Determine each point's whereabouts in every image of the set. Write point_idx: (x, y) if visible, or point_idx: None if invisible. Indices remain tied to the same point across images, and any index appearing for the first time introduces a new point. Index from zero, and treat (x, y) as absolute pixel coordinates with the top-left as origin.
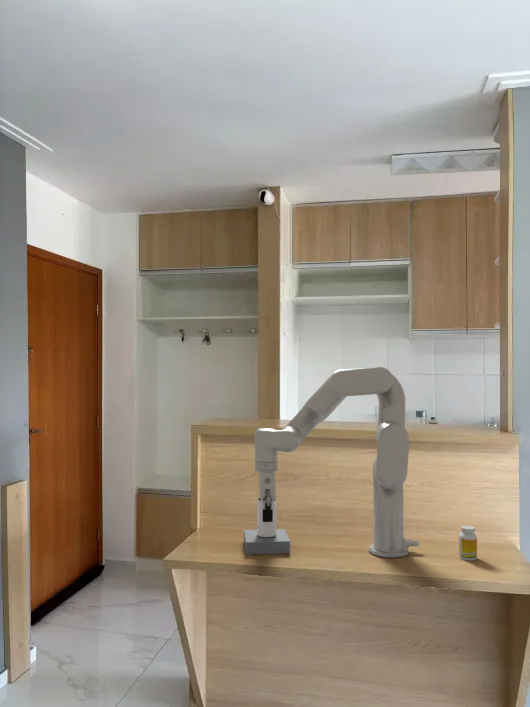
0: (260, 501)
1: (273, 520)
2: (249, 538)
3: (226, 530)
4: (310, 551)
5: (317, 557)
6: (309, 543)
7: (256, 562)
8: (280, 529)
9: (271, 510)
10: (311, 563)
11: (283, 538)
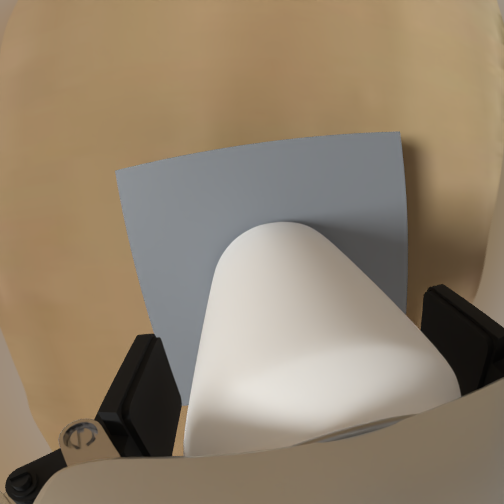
0: None
1: (367, 276)
2: None
3: (65, 419)
4: (323, 33)
5: (401, 23)
6: (185, 33)
7: (457, 285)
8: (133, 198)
9: (500, 338)
10: (466, 67)
11: (348, 169)
